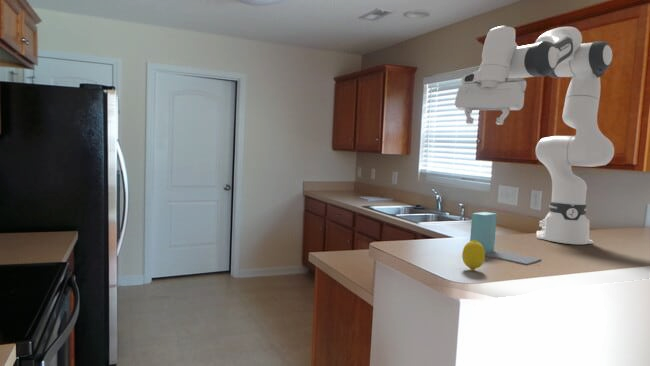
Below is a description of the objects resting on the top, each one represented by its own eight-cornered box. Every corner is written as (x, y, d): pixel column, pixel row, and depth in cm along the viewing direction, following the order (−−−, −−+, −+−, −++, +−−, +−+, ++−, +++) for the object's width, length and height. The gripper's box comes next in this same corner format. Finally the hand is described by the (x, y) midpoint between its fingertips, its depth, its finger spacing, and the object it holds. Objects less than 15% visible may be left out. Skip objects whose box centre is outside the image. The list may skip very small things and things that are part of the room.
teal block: (469, 251, 136) (472, 213, 136) (482, 248, 142) (484, 211, 141) (481, 254, 134) (484, 215, 133) (493, 251, 139) (496, 213, 138)
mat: (482, 255, 132) (482, 254, 132) (498, 251, 139) (498, 250, 139) (526, 265, 123) (526, 263, 123) (541, 260, 129) (541, 259, 129)
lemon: (465, 266, 117) (467, 236, 117) (486, 270, 114) (488, 240, 114) (458, 270, 113) (460, 239, 112) (480, 274, 110) (482, 243, 109)
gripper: (531, 81, 128) (522, 127, 127) (466, 84, 142) (458, 125, 142) (523, 73, 123) (514, 121, 123) (457, 77, 138) (448, 120, 137)
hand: (483, 123), depth 132 cm, fingers open, 8 cm apart
